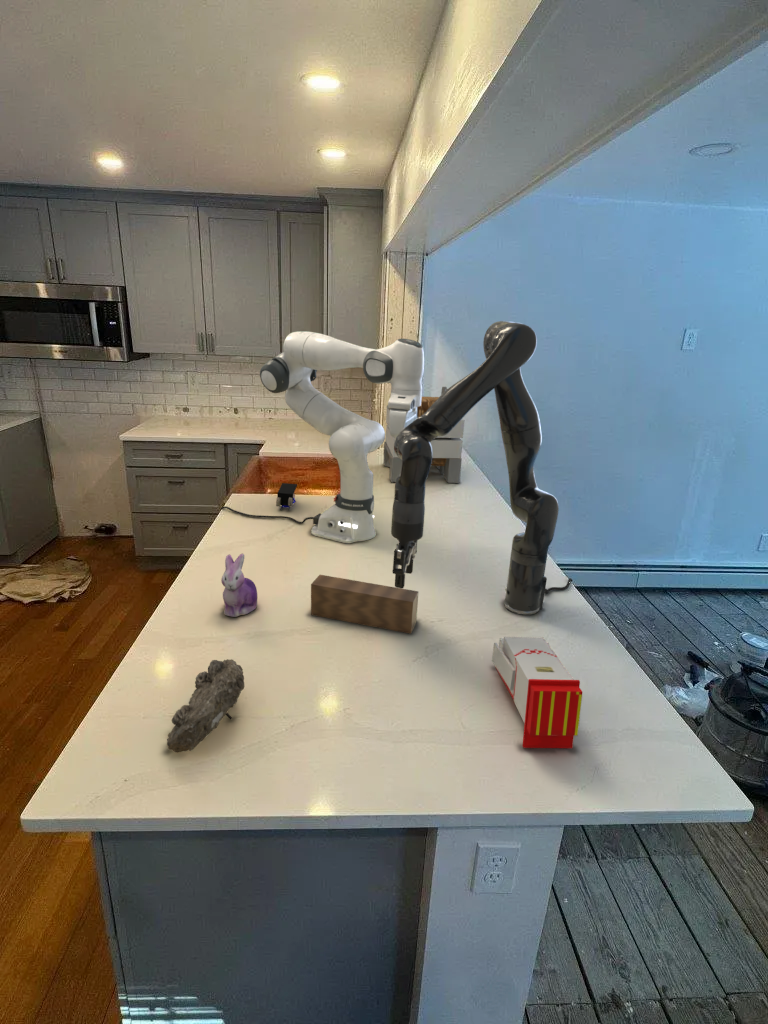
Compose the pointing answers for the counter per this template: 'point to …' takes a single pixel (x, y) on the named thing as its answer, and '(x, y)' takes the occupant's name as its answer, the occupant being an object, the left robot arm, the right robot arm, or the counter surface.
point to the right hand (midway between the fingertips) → (403, 579)
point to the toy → (539, 691)
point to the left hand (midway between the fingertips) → (402, 446)
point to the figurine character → (286, 495)
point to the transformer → (442, 447)
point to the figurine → (237, 589)
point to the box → (364, 603)
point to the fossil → (206, 705)
